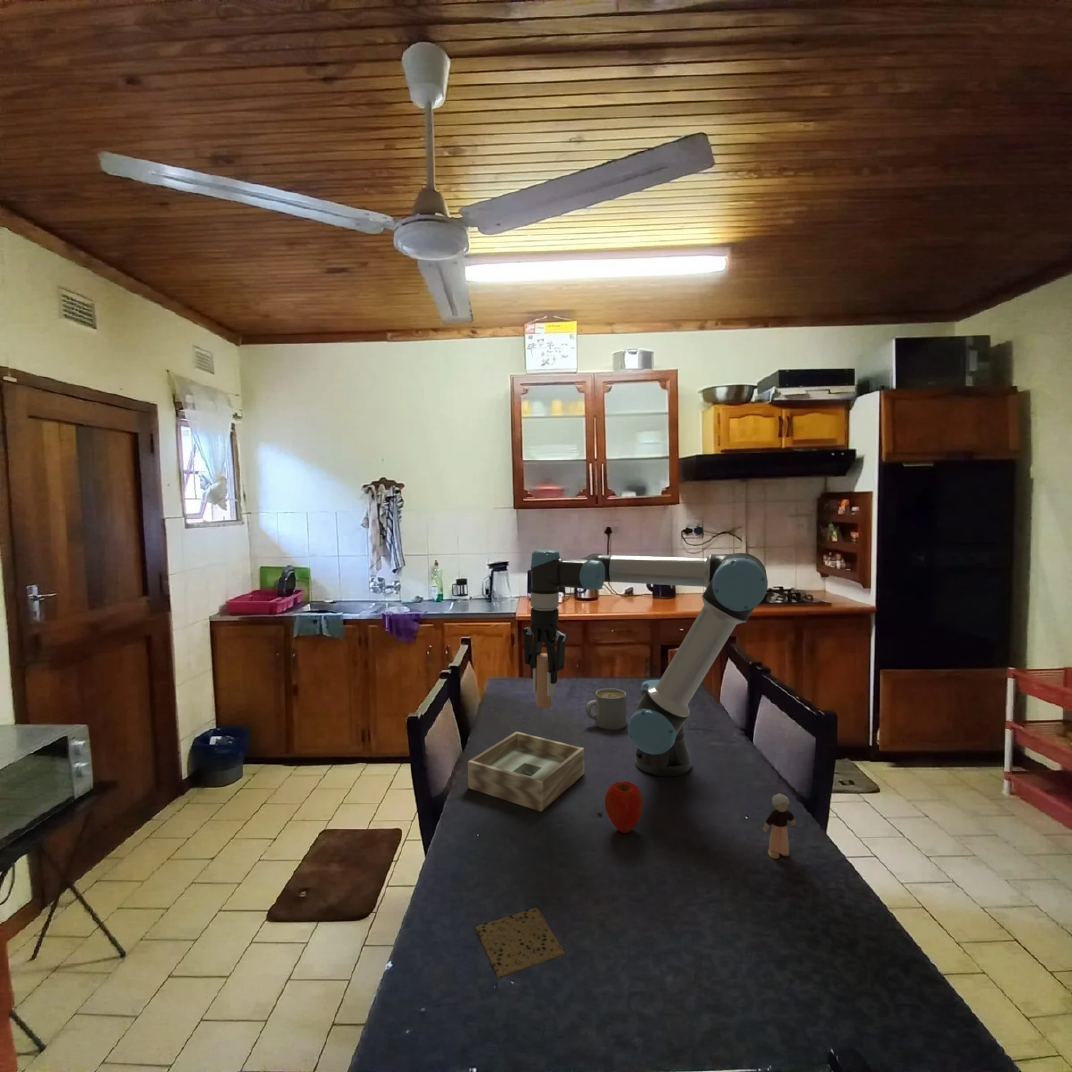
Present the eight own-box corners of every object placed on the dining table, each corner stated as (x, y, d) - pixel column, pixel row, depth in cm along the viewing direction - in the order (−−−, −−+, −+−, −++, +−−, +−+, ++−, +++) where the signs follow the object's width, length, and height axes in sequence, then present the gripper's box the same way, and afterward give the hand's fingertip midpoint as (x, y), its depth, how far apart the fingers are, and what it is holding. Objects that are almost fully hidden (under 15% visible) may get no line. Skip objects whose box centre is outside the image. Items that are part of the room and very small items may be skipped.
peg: (553, 705, 160) (554, 654, 159) (545, 709, 157) (546, 658, 155) (541, 702, 162) (542, 652, 161) (533, 706, 159) (534, 655, 158)
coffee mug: (622, 716, 197) (622, 687, 196) (629, 728, 187) (629, 697, 186) (582, 718, 196) (582, 689, 195) (588, 730, 186) (587, 699, 185)
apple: (620, 815, 137) (620, 770, 136) (651, 830, 131) (651, 783, 130) (597, 830, 131) (596, 783, 130) (628, 846, 125) (628, 797, 124)
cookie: (497, 982, 91) (497, 976, 91) (474, 929, 102) (474, 924, 102) (566, 957, 96) (566, 951, 96) (537, 909, 107) (537, 904, 107)
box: (584, 773, 157) (584, 748, 157) (541, 811, 139) (540, 783, 138) (516, 755, 169) (516, 731, 169) (468, 787, 151) (467, 761, 150)
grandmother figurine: (774, 863, 118) (775, 803, 117) (759, 853, 122) (760, 794, 121) (800, 852, 122) (801, 793, 121) (785, 843, 125) (786, 785, 124)
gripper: (579, 609, 155) (577, 695, 157) (527, 601, 165) (526, 682, 167) (563, 614, 149) (562, 703, 151) (511, 605, 159) (510, 689, 161)
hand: (543, 692), depth 159 cm, fingers closed on peg, 4 cm apart
